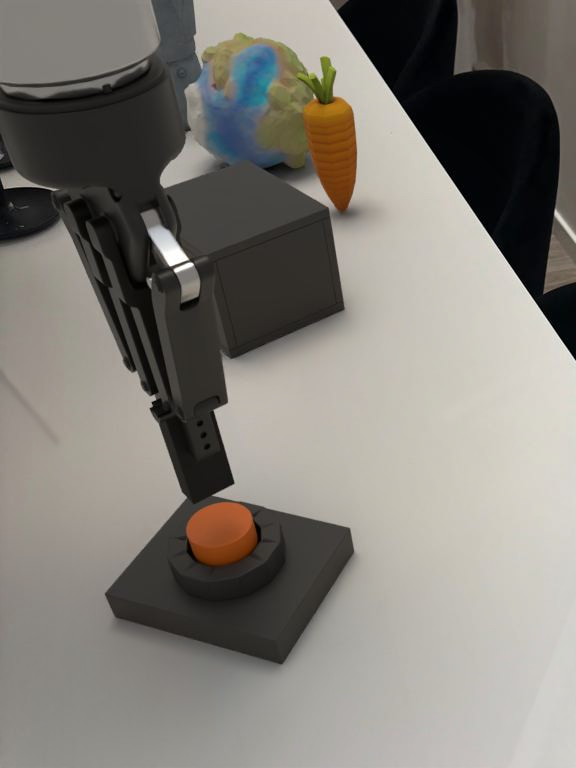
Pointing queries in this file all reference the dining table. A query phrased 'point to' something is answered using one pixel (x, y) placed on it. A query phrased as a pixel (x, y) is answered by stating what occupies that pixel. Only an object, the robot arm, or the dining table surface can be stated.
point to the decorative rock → (250, 103)
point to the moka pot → (178, 46)
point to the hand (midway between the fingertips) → (208, 487)
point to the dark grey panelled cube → (259, 253)
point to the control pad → (235, 582)
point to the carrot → (331, 136)
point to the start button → (222, 534)
